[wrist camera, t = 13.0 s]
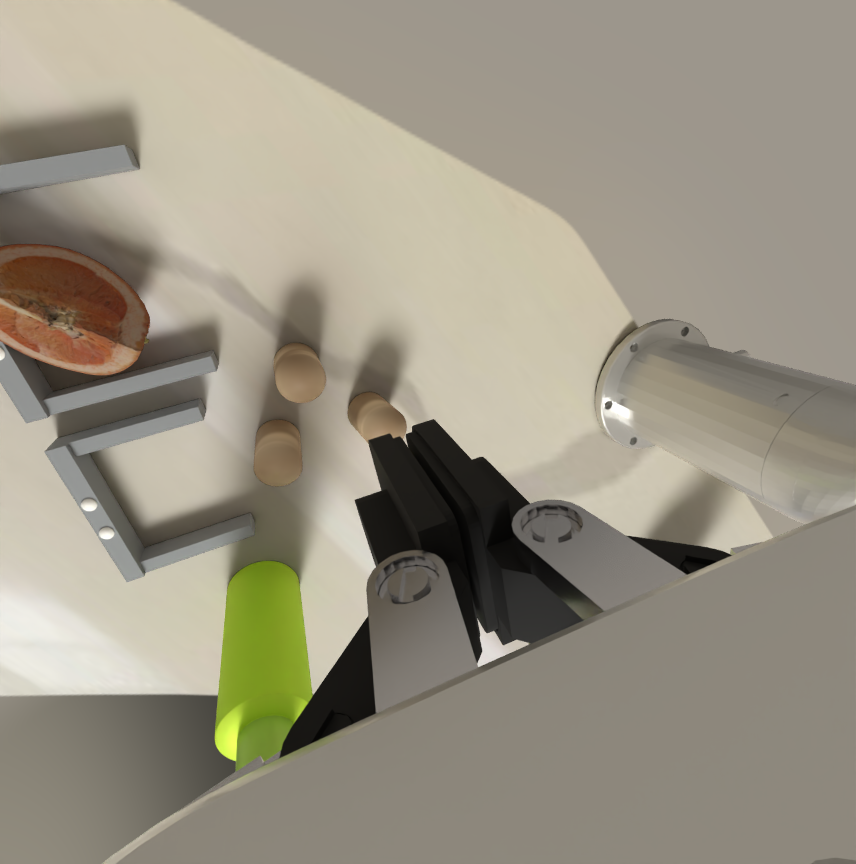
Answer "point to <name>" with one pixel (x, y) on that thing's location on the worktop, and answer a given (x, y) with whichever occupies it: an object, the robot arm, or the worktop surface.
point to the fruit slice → (69, 310)
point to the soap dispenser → (261, 663)
